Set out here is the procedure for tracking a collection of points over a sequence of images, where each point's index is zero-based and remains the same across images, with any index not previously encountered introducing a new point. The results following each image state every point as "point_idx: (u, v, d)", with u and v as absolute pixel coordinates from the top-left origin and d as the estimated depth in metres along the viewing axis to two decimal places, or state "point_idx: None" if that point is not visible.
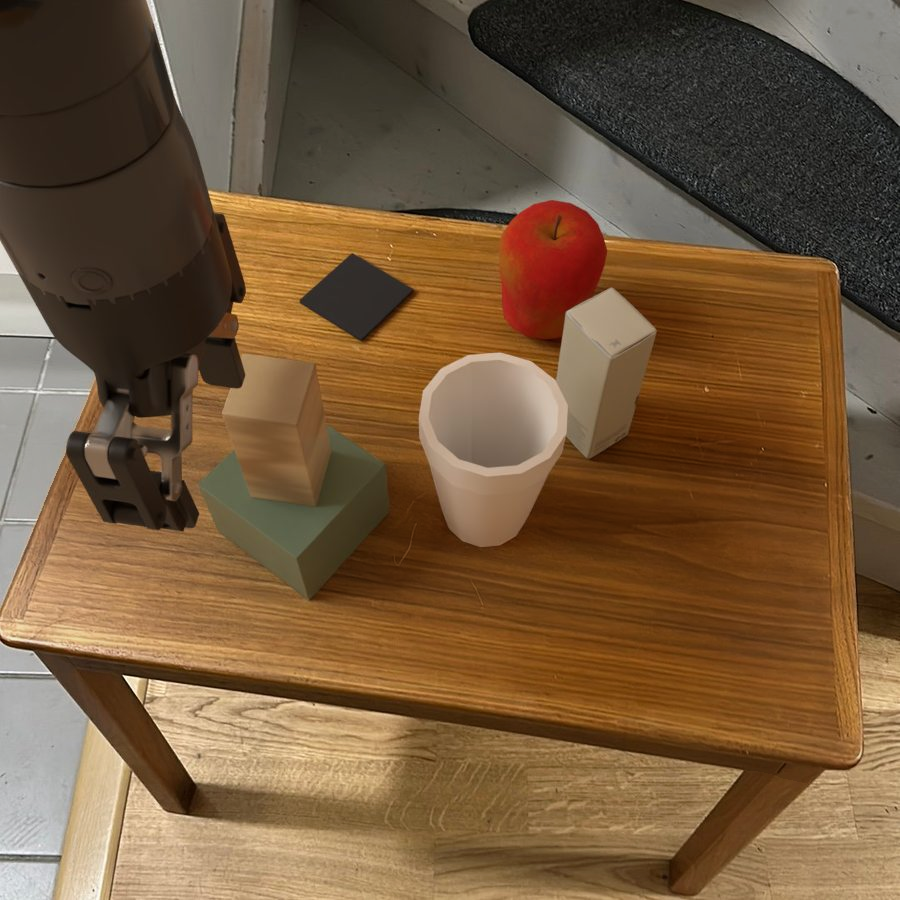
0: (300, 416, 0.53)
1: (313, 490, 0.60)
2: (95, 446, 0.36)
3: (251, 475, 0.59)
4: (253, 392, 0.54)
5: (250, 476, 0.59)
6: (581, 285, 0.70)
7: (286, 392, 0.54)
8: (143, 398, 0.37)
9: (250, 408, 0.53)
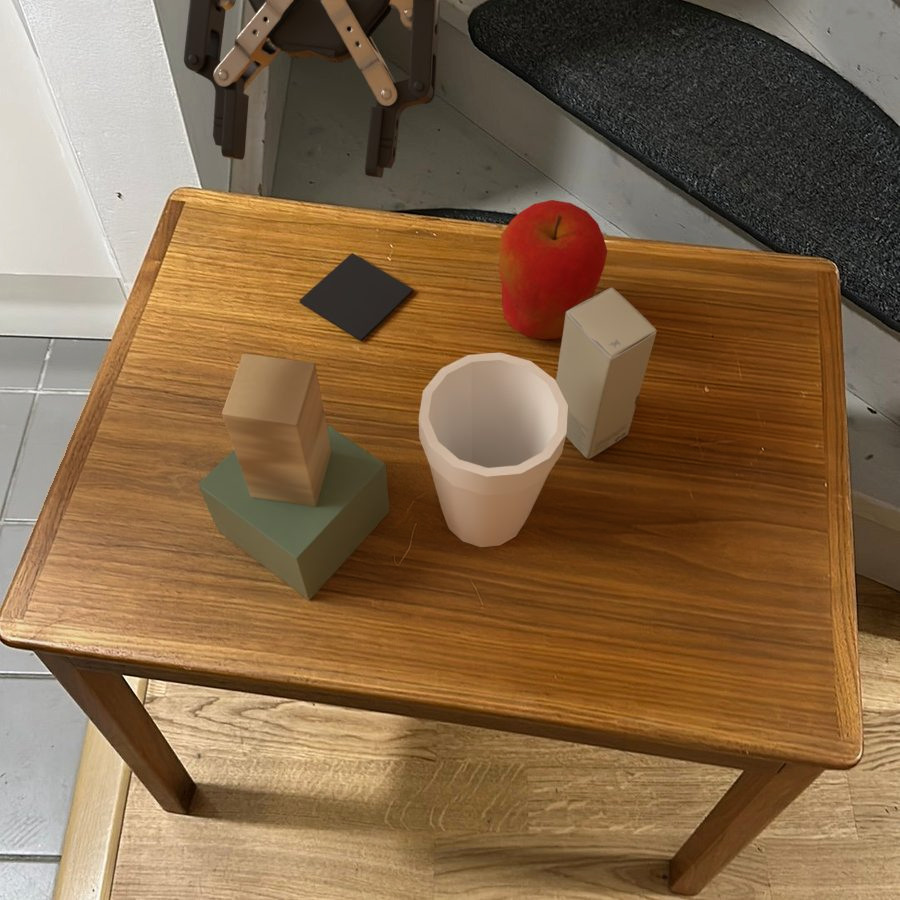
0: (300, 416, 0.53)
1: (313, 490, 0.60)
2: None
3: (251, 475, 0.59)
4: (253, 392, 0.54)
5: (250, 476, 0.59)
6: (581, 285, 0.70)
7: (286, 392, 0.54)
8: None
9: (250, 408, 0.53)
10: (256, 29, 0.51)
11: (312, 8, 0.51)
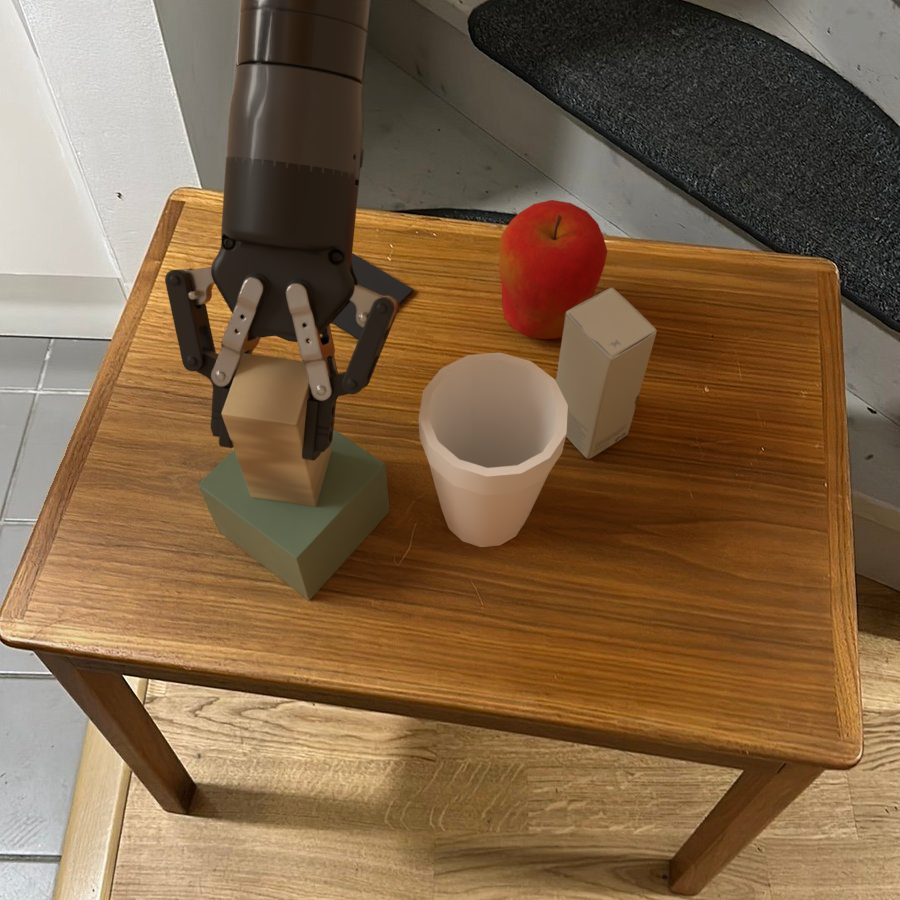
0: (300, 416, 0.53)
1: (313, 490, 0.60)
2: (393, 299, 0.53)
3: (251, 475, 0.59)
4: (253, 392, 0.54)
5: (250, 476, 0.59)
6: (581, 285, 0.70)
7: (286, 392, 0.54)
8: None
9: (250, 408, 0.53)
10: (237, 328, 0.53)
11: (279, 299, 0.53)
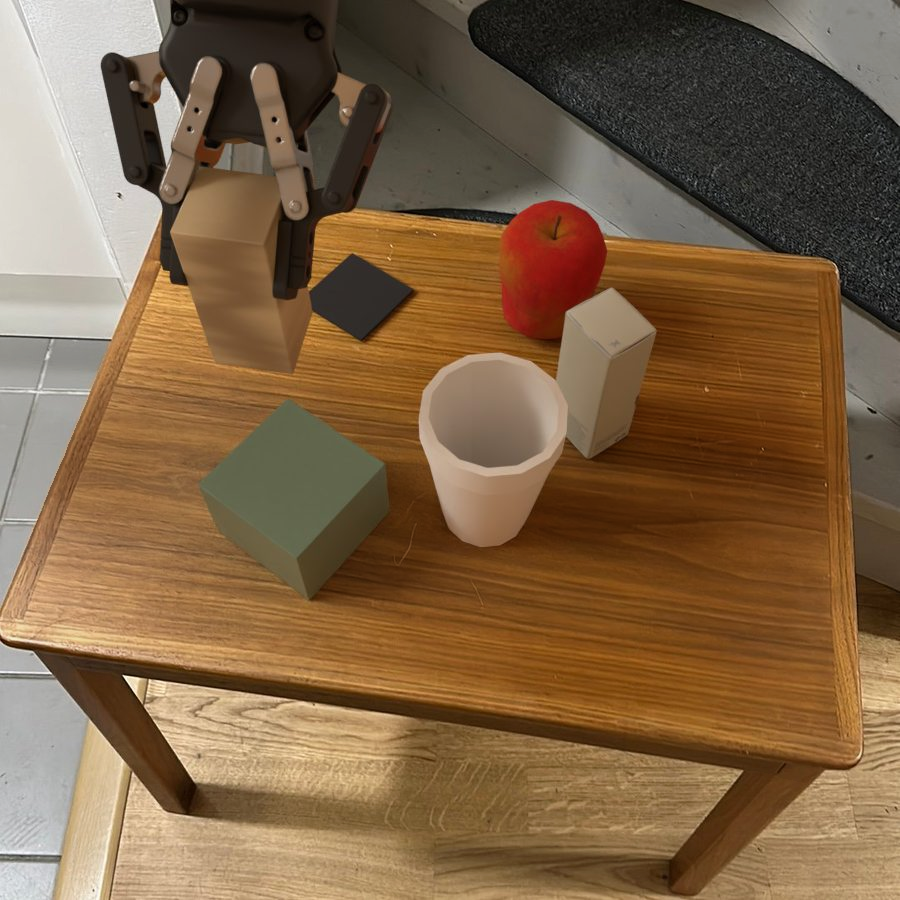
0: (268, 236, 0.42)
1: (288, 349, 0.49)
2: None
3: (212, 329, 0.48)
4: (210, 208, 0.43)
5: (211, 330, 0.48)
6: (581, 285, 0.70)
7: (252, 209, 0.43)
8: None
9: (206, 226, 0.42)
10: (190, 125, 0.42)
11: (242, 88, 0.42)
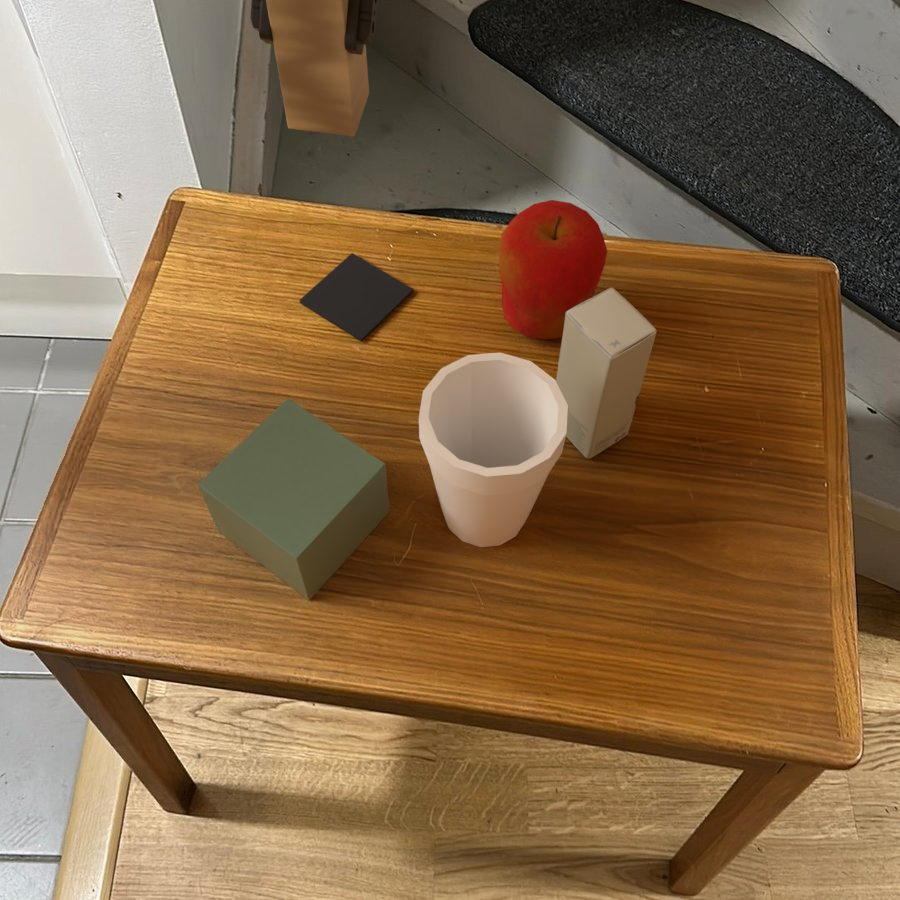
0: None
1: (353, 109, 0.58)
2: None
3: (290, 89, 0.57)
4: None
5: (288, 91, 0.58)
6: (581, 285, 0.70)
7: None
8: None
9: None
10: None
11: None
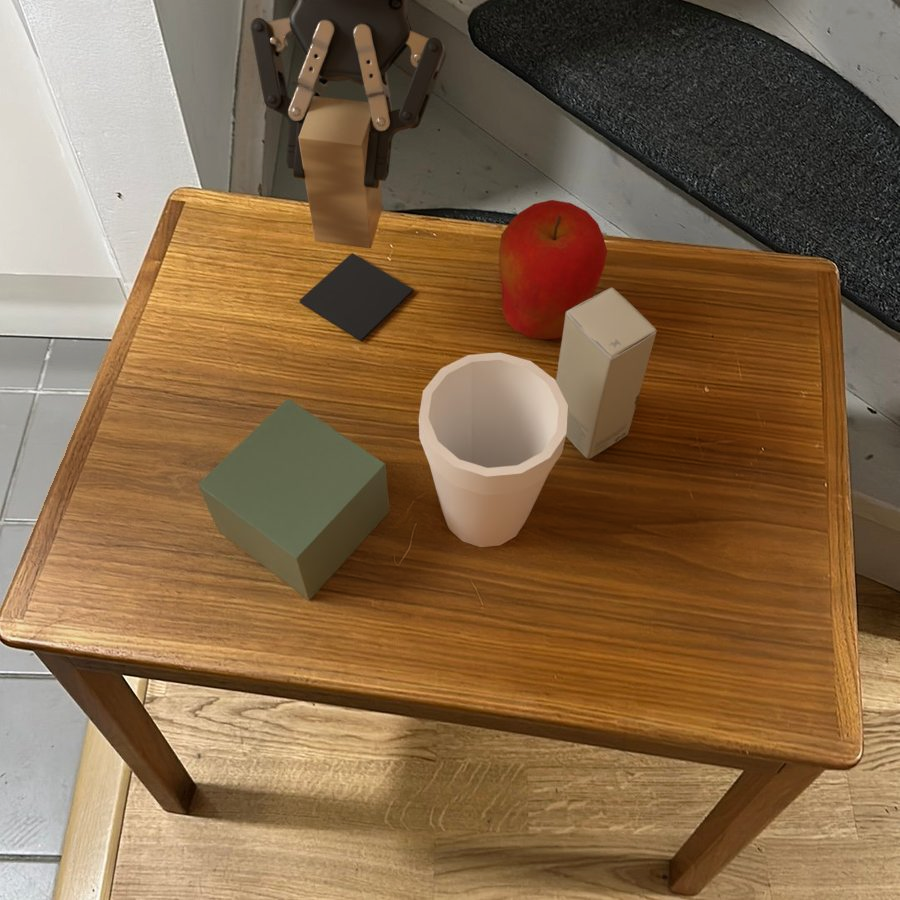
0: (364, 140, 0.63)
1: (369, 228, 0.70)
2: None
3: (317, 213, 0.69)
4: (324, 122, 0.64)
5: (316, 214, 0.69)
6: (581, 285, 0.70)
7: (352, 123, 0.64)
8: None
9: (322, 134, 0.63)
10: (311, 66, 0.63)
11: (346, 41, 0.63)
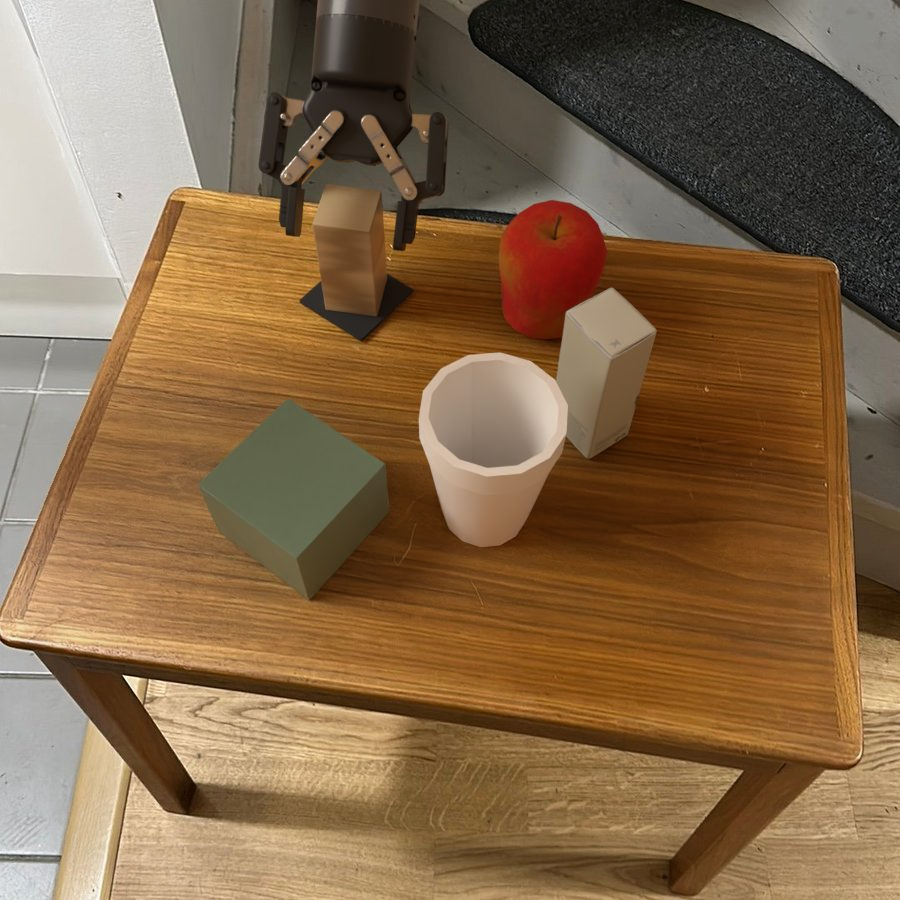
0: (371, 226, 0.70)
1: (376, 299, 0.77)
2: None
3: (328, 286, 0.76)
4: (335, 210, 0.71)
5: (327, 287, 0.76)
6: (581, 285, 0.70)
7: (360, 210, 0.71)
8: None
9: (333, 220, 0.70)
10: (313, 144, 0.70)
11: (354, 129, 0.70)
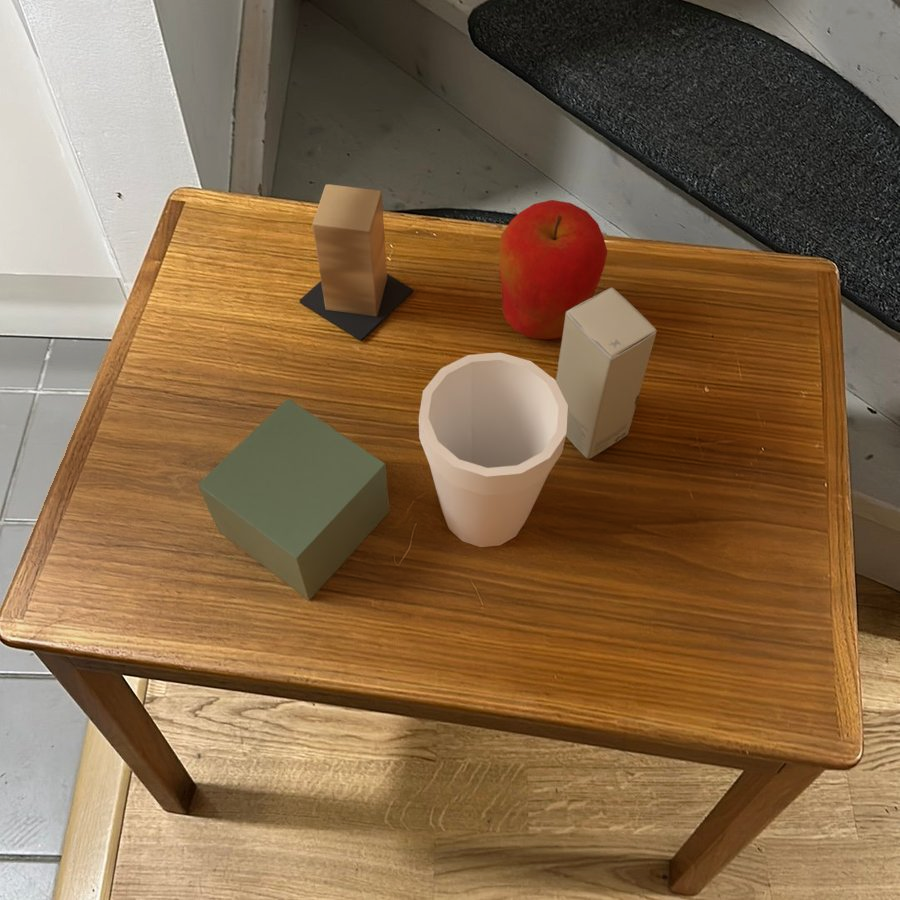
0: (371, 226, 0.70)
1: (376, 299, 0.77)
2: None
3: (328, 286, 0.76)
4: (335, 210, 0.71)
5: (327, 287, 0.76)
6: (581, 285, 0.70)
7: (360, 210, 0.71)
8: None
9: (333, 220, 0.70)
10: None
11: None
